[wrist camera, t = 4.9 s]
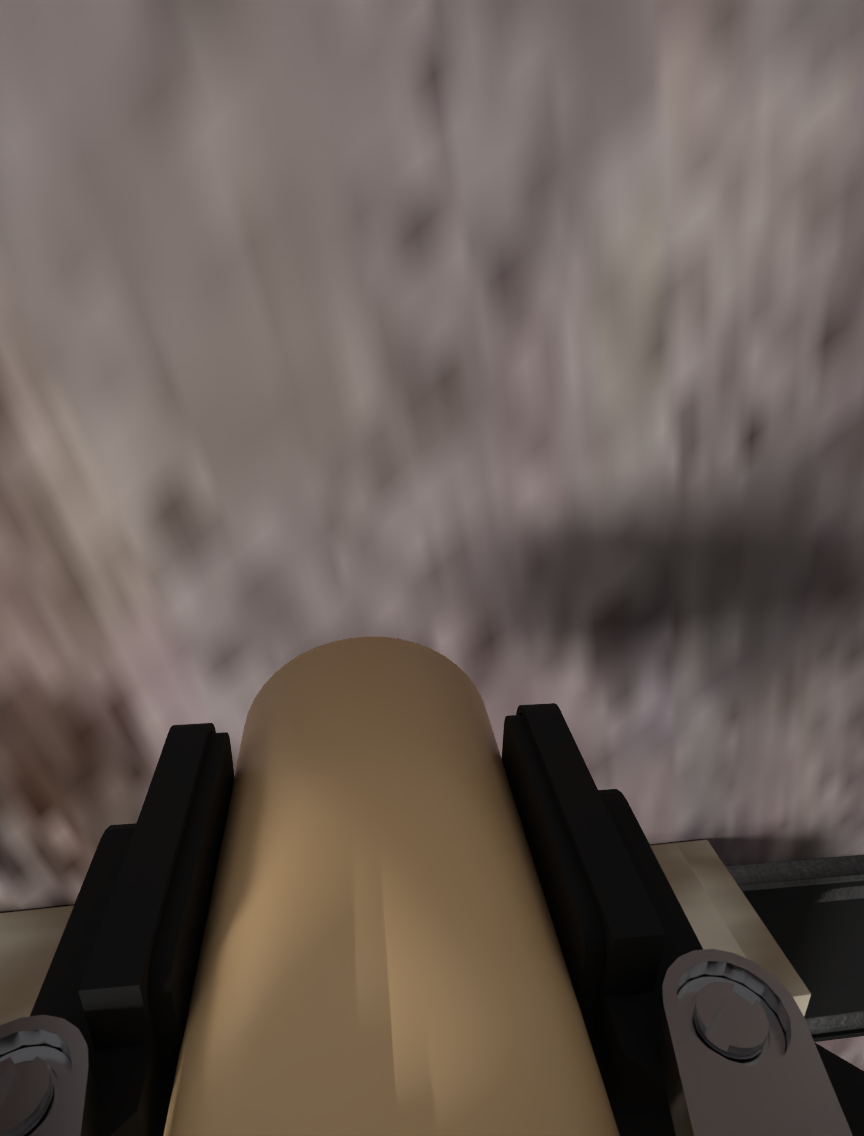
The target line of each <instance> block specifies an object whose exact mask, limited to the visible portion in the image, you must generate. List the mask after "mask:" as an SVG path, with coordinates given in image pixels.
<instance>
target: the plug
mask: <svg viewBox="0 0 864 1136" xmlns="http://www.w3.org/2000/svg"><path fill="white" fill-rule="evenodd" d="M163 1136H620V1134H619V1131H618V1128H617V1125H616V1121H615V1118H614V1115H613V1112H612V1109H611V1105H610V1102H609V1099H608V1096H607V1093H606V1090H605V1086H604V1083H603V1080H602V1077H601V1074H600V1070H599V1067H598V1064H597V1061H596V1058H595V1055H594V1051H593V1048H592V1045H591V1042H590V1039H589V1035H588V1032H587V1029H586V1026H585V1023H584V1020H583V1016H582V1013H581V1010H580V1007H579V1004H578V1001H577V998H576V995H575V991H574V988H573V985H572V982H571V979H570V975H569V972H568V969H567V966H566V963H565V959H564V956H563V953H562V950H561V947H560V944H559V940H558V937H557V934H556V931H555V928H554V924H553V921H552V918H551V915H550V912H549V909H548V905H547V902H546V899H545V896H544V893H543V889H542V886H541V883H540V880H539V877H538V874H537V870H536V867H535V864H534V861H533V858H532V854H531V851H530V848H529V845H528V842H527V838H526V835H525V832H524V829H523V826H522V823H521V819H520V816H519V813H518V810H517V807H516V803H515V800H514V797H513V794H512V791H511V788H510V784H509V781H508V778H507V775H506V772H505V768H504V765H503V762H502V759H501V755H500V752H499V749H498V746H497V743H496V740H495V736H494V733H493V730H492V727H491V724H490V720H489V717H488V714H487V711H486V708H485V705H484V702H483V700H482V697H481V695H480V694H479V692H478V690H477V688H476V686H475V685H474V684H473V682H472V681H471V680H470V678H469V677H468V676H467V675H466V674H465V673H464V672H463V671H462V670H461V669H460V668H459V667H458V666H457V665H456V664H454V663H453V662H452V661H450V660H449V659H448V658H446V657H445V656H443V655H441V654H439V653H437V652H436V651H434V650H432V649H430V648H427V647H425V646H422V645H419V644H417V643H413V642H409V641H405V640H401V639H395V638H388V637H358V638H348V639H344V640H339V641H335V642H331V643H328V644H325V645H322V646H319V647H316V648H314V649H312V650H310V651H308V652H305V653H303V654H301V655H299V656H298V657H296V658H295V659H293V660H292V661H290V662H289V663H287V664H286V665H284V666H283V667H282V668H281V669H280V670H278V671H277V672H276V673H275V674H274V675H273V676H272V677H271V678H270V679H269V680H268V681H267V682H266V684H265V685H264V686H263V687H262V689H261V690H260V692H259V693H258V695H257V696H256V698H255V699H254V701H253V704H252V706H251V708H250V710H249V712H248V716H247V719H246V722H245V726H244V731H243V736H242V741H241V746H240V751H239V756H238V761H237V766H236V772H235V778H234V783H233V788H232V793H231V798H230V803H229V808H228V813H227V818H226V823H225V828H224V833H223V838H222V843H221V848H220V854H219V859H218V864H217V869H216V874H215V879H214V884H213V889H212V894H211V899H210V904H209V909H208V914H207V919H206V924H205V929H204V934H203V940H202V945H201V950H200V955H199V960H198V965H197V970H196V975H195V980H194V985H193V990H192V995H191V1000H190V1005H189V1010H188V1015H187V1020H186V1026H185V1031H184V1036H183V1041H182V1046H181V1049H180V1054H179V1059H178V1064H177V1069H176V1074H175V1079H174V1084H173V1089H172V1094H171V1099H170V1104H169V1109H168V1115H167V1120H166V1125H165V1130H164V1135H163Z"/></svg>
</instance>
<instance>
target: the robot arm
mask: <svg viewBox="0 0 864 1136" xmlns="http://www.w3.org/2000/svg"><path fill="white" fill-rule="evenodd" d="M502 762H503V765H504V768H505V772H506V775H507V778H508V781H509V784H510V788H511V791H512V794H513V797H514V800H515V803H516V807H517V810H518V813H519V816H520V819H521V823H522V826H523V829H524V832H525V835H526V838H527V842H528V845H529V848H530V851H531V854H532V858H533V861H534V864H535V867H536V870H537V874H538V877H539V880H540V883H541V886H542V889H543V893H544V896H545V899H546V902H547V905H548V909H549V912H550V915H551V918H552V921H553V924H554V928H555V931H556V934H557V937H558V940H559V944H560V947H561V950H562V953H563V956H564V959H565V963H566V966H567V969H568V972H569V975H570V979H571V982H572V985H573V988H574V991H575V995H576V998H577V1001H578V1004H579V1007H580V1010H581V1013H582V1016H583V1020H584V1023H585V1026H586V1029H587V1032H588V1035H589V1039H590V1042H591V1045H592V1048H593V1051H594V1055H595V1058H596V1061H597V1064H598V1067H599V1070H600V1074H601V1077H602V1080H603V1083H604V1086H605V1090H606V1093H607V1096H608V1099H609V1102H610V1105H611V1109H612V1112H613V1115H614V1118H615V1121H616V1125H617V1128H618V1131H619V1134H620V1136H864V1071H862V1070H860V1069H859V1068H857V1067H855V1066H854V1065H852V1064H850V1063H849V1062H847V1061H845V1060H843V1059H842V1058H840V1057H838V1056H837V1055H835V1054H833V1053H831V1052H830V1051H828V1050H826V1049H825V1048H823V1047H821V1046H820V1045H818V1044H816V1043H814V1040H813V1038H812V1035H811V1033H810V1031H809V1028H808V1026H807V1023H806V1021H805V1018H804V1016H803V1014H802V1012H801V1010H800V1009H799V1007H798V1005H797V1003H796V1002H795V1000H794V998H793V996H792V995H791V994H790V992H789V991H788V990H787V989H786V988H785V987H784V986H783V985H782V984H781V983H780V982H779V981H778V979H777V978H776V977H775V976H773V975H772V974H771V973H769V972H768V971H766V970H765V969H764V968H762V967H761V966H759V965H758V964H757V963H755V962H753V961H751V960H749V959H746V958H744V957H742V956H740V955H737V954H735V953H731V952H726V951H721V950H716V949H705V950H704V949H703V948H702V946H701V944H700V942H699V940H698V938H697V936H696V934H695V932H694V930H693V928H692V926H691V924H690V922H689V920H688V918H687V916H686V914H685V913H684V911H683V909H682V907H681V905H680V903H679V901H678V899H677V897H676V895H675V893H674V891H673V889H672V887H671V885H670V883H669V881H668V880H667V878H666V876H665V874H664V872H663V870H662V868H661V866H660V864H659V862H658V860H657V858H656V856H655V854H654V852H653V850H652V848H651V846H650V845H649V843H648V841H647V839H646V837H645V835H644V833H643V831H642V829H641V827H640V825H639V823H638V821H637V819H636V817H635V815H634V813H633V812H632V810H631V808H630V806H629V804H628V802H627V800H626V798H625V797H624V795H623V794H622V792H620V791H619V790H617V789H609V790H598V789H597V787H596V785H595V783H594V781H593V779H592V777H591V774H590V772H589V770H588V768H587V766H586V764H585V762H584V760H583V757H582V755H581V753H580V751H579V749H578V747H577V745H576V743H575V741H574V738H573V736H572V734H571V732H570V730H569V728H568V726H567V724H566V721H565V719H564V717H563V715H562V713H561V711H560V709H559V707H558V706H557V704H555V703H552V704H534V705H520V706H519V707H518V709H517V713H516V715H513V716H506V717H505V722H504V734H503V749H502ZM234 778H235V777H234V769H233V761H232V753H231V745H230V738H229V734H228V733H227V732H226V733H216V731H215V727H214V724H212V723H204V724H187V725H173V726H172V727H171V728H170V730H169V733H168V735H167V738H166V741H165V744H164V747H163V750H162V753H161V755H160V758H159V761H158V764H157V767H156V770H155V773H154V775H153V778H152V781H151V784H150V787H149V790H148V793H147V796H146V798H145V801H144V804H143V807H142V810H141V813H140V816H139V818H138V821H137V823H136V824H122V825H110V826H109V827H108V828H107V829H106V830H105V832H104V834H103V836H102V838H101V840H100V842H99V845H98V847H97V850H96V852H95V855H94V857H93V860H92V862H91V865H90V867H89V870H88V872H87V875H86V877H85V880H84V882H83V885H82V887H81V889H80V892H79V894H78V897H77V899H76V902H75V904H74V907H73V909H72V912H71V914H70V917H69V919H68V922H67V924H66V927H65V929H64V932H63V934H62V937H61V939H60V942H59V944H58V947H57V949H56V952H55V954H54V957H53V959H52V962H51V964H50V967H49V969H48V972H47V974H46V977H45V979H44V982H43V984H42V987H41V989H40V992H39V994H38V997H37V999H36V1002H35V1004H34V1007H33V1009H32V1012H31V1014H30V1017H22V1018H18V1019H16V1020H13V1021H10V1022H8V1023H5V1024H2V1025H0V1136H163V1135H164V1130H165V1125H166V1120H167V1115H168V1109H169V1104H170V1099H171V1094H172V1089H173V1084H174V1079H175V1074H176V1069H177V1064H178V1059H179V1054H180V1049H181V1046H182V1041H183V1036H184V1031H185V1026H186V1020H187V1015H188V1010H189V1005H190V1000H191V995H192V990H193V985H194V980H195V975H196V970H197V965H198V960H199V955H200V950H201V945H202V940H203V934H204V929H205V924H206V919H207V914H208V909H209V904H210V899H211V894H212V889H213V884H214V879H215V874H216V869H217V864H218V859H219V854H220V848H221V843H222V838H223V833H224V828H225V823H226V818H227V813H228V808H229V803H230V798H231V793H232V788H233V783H234Z"/></svg>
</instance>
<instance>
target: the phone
mask: <svg viewBox="0 0 864 1136" xmlns="http://www.w3.org/2000/svg"><path fill="white" fill-rule="evenodd" d="M725 867H726V868H727V870H728V871H729V873H730V874H731V876H732V877H733V879H734V880H735V882H736V883H737V885H738V886H739V888H740V889H741V891H742V892H743V894H744V895H745V897H746V898H747V900H748V901H749V903H750V904H751V905H752V907H753V908H754V910H755V911H756V913H757V914H758V916H759V917H760V919H761V920H762V922H763V923H764V925H765V926H766V928H767V929H768V931H769V932H770V934H771V935H772V937H773V938H774V940H775V941H776V943H777V944H778V946H779V947H780V949H781V950H782V951H783V953H784V954H785V956H786V957H787V959H788V960H789V962H790V963H791V965H792V966H793V968H794V969H795V971H796V972H797V974H798V975H799V977H800V978H801V980H802V981H803V983H804V984H805V986H806V987H807V989H808V990H809V992H810V993H811V997H810V1000H809V1003H808V1006H807V1009H806V1012H805V1016H804V1018H805V1021H806V1023H807V1026H808V1028H809V1031H810V1033H811V1035H812V1038H813V1040H814V1042H818V1041H826V1040H834V1039H842V1038H850V1037H858V1036H864V855H857V856H845V857H832V858H820V859H808V860H795V861H783V862H771V863H758V864H746V865H733V866H725Z"/></svg>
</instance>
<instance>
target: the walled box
mask: <svg viewBox="0 0 864 1136" xmlns="http://www.w3.org/2000/svg"><path fill="white" fill-rule="evenodd" d="M650 846H651V848H652V850H653V852H654V854H655V856H656V858H657V860H658V862H659V864H660V866H661V868H662V870H663V872H664V874H665V876H666V878H667V880H668V881H669V883H670V885H671V887H672V889H673V891H674V893H675V895H676V897H677V899H678V901H679V903H680V905H681V907H682V909H683V911H684V913H685V914H686V916H687V918H688V920H689V922H690V924H691V926H692V928H693V930H694V932H695V934H696V936H697V938H698V940H699V942H700V944H701V946H702V948H703V949H704V950H705V949H716V950H721V951H726V952H731V953H735V954H737V955H740V956H742V957H744V958H746V959H749V960H751V961H753V962H755V963H757V964H758V965H759V966H761V967H762V968H764V969H765V970H766V971H768V972H769V973H771V974H772V975H773V976H775V977H776V978H777V979H778V981H779V982H780V983H781V984H782V985H783V986H784V987H785V988H786V989H787V990H788V991H789V992H790V994H791V995H792V996H793V998H794V1000H795V1002H796V1003H797V1005H798V1007H799V1009H800V1010H801V1012H802V1014H803V1016H805V1012H806V1009H807V1006H808V1003H809V1000H810V997H811V993H810V992H809V990H808V989H807V987H806V986H805V984H804V983H803V981H802V980H801V978H800V977H799V975H798V974H797V972H796V971H795V969H794V968H793V966H792V965H791V963H790V962H789V960H788V959H787V957H786V956H785V954H784V953H783V951H782V950H781V949H780V947H779V946H778V944H777V943H776V941H775V940H774V938H773V937H772V935H771V934H770V932H769V931H768V929H767V928H766V926H765V925H764V923H763V922H762V920H761V919H760V917H759V916H758V914H757V913H756V911H755V910H754V908H753V907H752V905H751V904H750V903H749V901H748V900H747V898H746V897H745V895H744V894H743V892H742V891H741V889H740V888H739V886H738V885H737V883H736V882H735V880H734V879H733V877H732V876H731V874H730V873H729V871H728V870H727V868H726V867H725V865H724V864H723V862H722V861H721V859H720V858H719V856H718V855H717V854H716V852H715V851H714V849H713V848H712V846H711V845H710V843H709V842H708V840H698V841H689V842H679V843H669V844H660V845H650ZM73 907H74V906H65V907H55V908H45V909H36V910H26V911H17V912H7V913H0V1025H2V1024H5V1023H8V1022H10V1021H13V1020H16V1019H18V1018H22V1017H30V1014H31V1012H32V1009H33V1007H34V1004H35V1002H36V999H37V997H38V994H39V992H40V989H41V987H42V984H43V982H44V979H45V977H46V974H47V972H48V969H49V967H50V964H51V962H52V959H53V957H54V954H55V952H56V949H57V947H58V944H59V942H60V939H61V937H62V934H63V932H64V929H65V927H66V924H67V922H68V919H69V917H70V914H71V912H72V909H73Z"/></svg>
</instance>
